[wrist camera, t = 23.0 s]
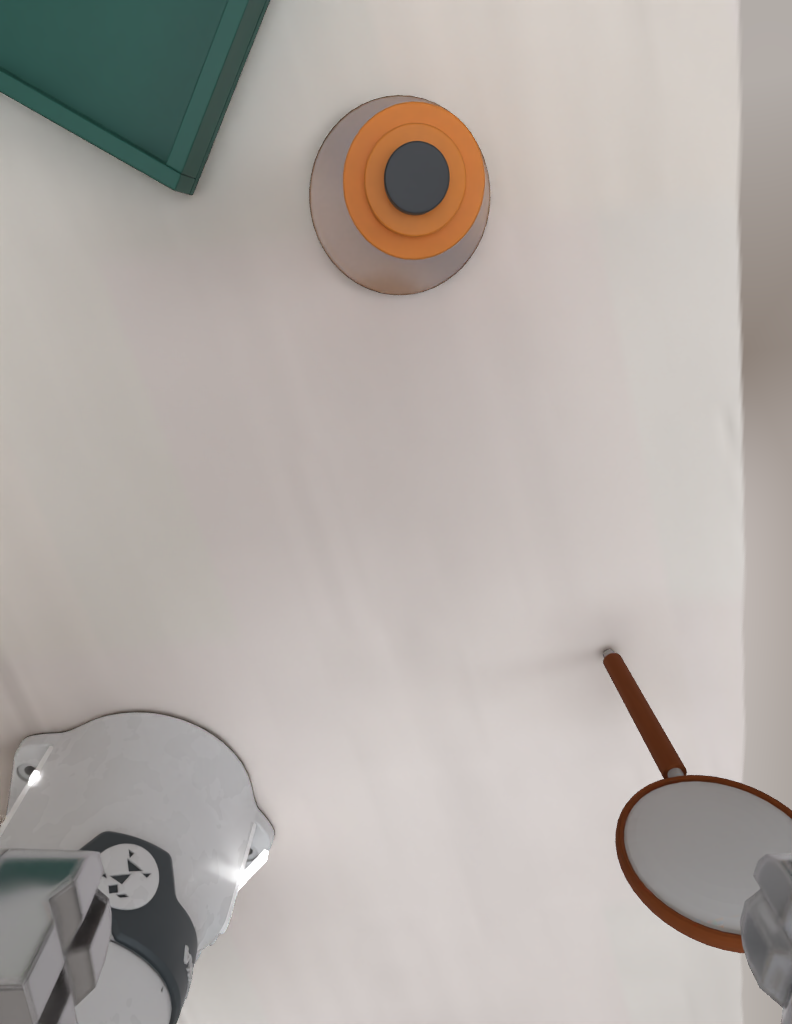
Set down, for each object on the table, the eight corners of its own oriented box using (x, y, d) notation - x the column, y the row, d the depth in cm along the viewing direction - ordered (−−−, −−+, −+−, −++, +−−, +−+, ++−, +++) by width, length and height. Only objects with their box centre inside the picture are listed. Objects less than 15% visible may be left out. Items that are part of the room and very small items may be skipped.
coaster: (432, 325, 36) (433, 326, 35) (280, 238, 34) (278, 238, 34) (522, 161, 33) (525, 160, 33) (362, 57, 31) (361, 54, 31)
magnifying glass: (542, 670, 44) (657, 976, 26) (541, 648, 44) (658, 945, 25) (673, 655, 44) (884, 952, 26) (673, 632, 43) (890, 921, 25)
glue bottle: (425, 275, 34) (444, 289, 24) (335, 222, 33) (312, 211, 23) (477, 177, 33) (524, 143, 22) (384, 118, 32) (385, 52, 21)
